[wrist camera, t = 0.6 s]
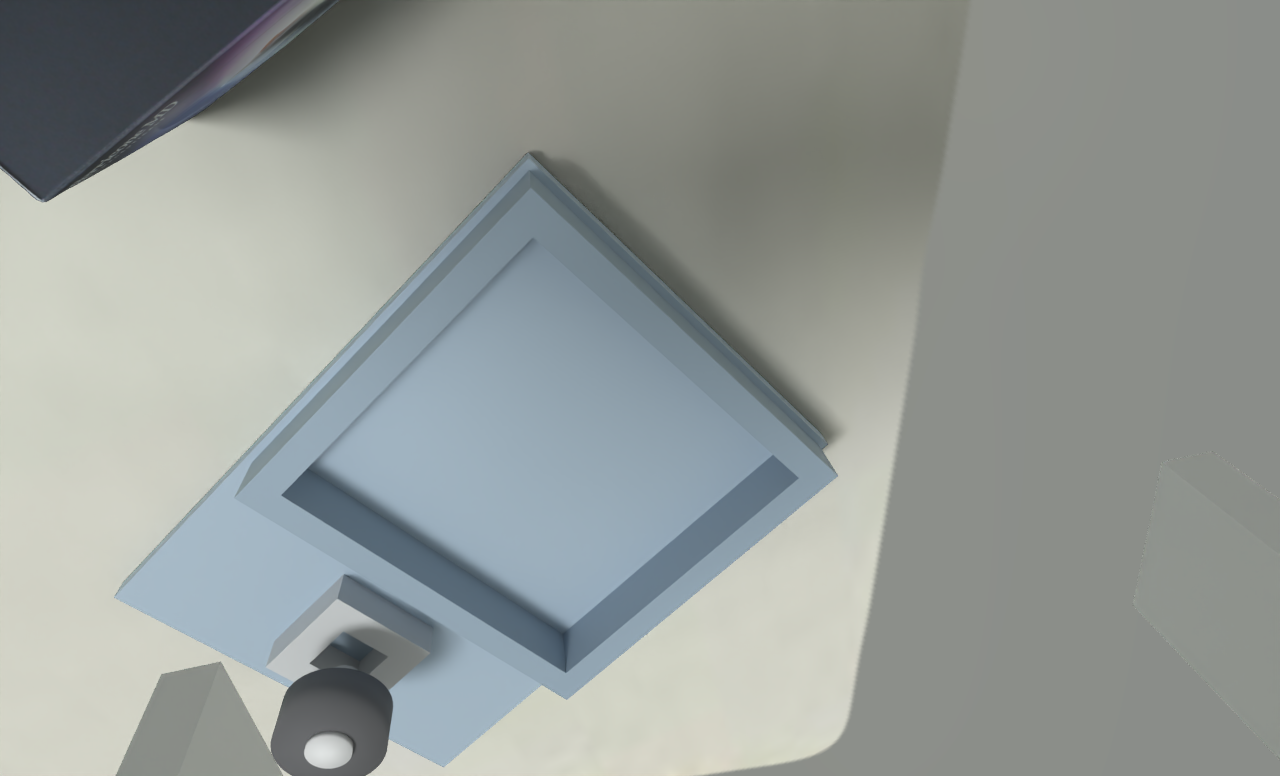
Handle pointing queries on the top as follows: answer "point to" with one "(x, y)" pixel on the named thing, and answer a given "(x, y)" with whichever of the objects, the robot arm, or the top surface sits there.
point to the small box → (122, 75)
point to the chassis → (490, 480)
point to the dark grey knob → (333, 724)
